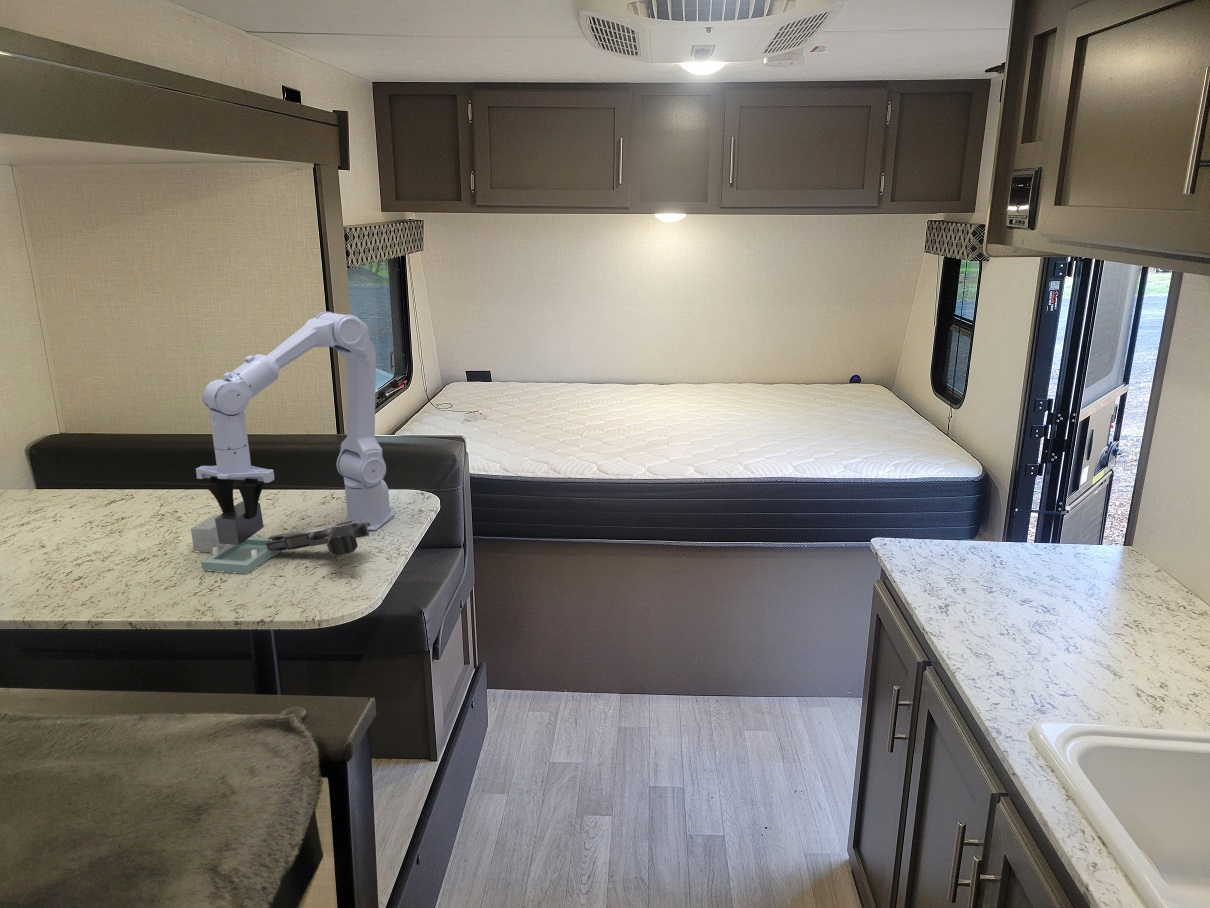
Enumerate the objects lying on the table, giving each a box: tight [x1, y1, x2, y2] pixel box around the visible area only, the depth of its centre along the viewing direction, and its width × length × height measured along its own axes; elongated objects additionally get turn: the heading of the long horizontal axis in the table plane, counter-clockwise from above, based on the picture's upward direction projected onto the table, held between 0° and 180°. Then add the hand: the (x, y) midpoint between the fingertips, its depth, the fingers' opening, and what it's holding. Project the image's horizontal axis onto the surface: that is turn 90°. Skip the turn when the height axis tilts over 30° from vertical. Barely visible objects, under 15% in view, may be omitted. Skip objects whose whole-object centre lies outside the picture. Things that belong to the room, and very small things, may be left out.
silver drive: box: [190, 513, 227, 553], centre depth 165 cm, size 8×4×5 cm, turn 172°
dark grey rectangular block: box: [215, 501, 265, 545], centre depth 156 cm, size 8×4×5 cm, turn 169°
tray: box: [201, 536, 282, 575], centre depth 158 cm, size 13×9×3 cm
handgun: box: [266, 519, 370, 556], centre depth 155 cm, size 3×21×12 cm
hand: (240, 516), depth 156 cm, fingers closed on dark grey rectangular block, 4 cm apart
